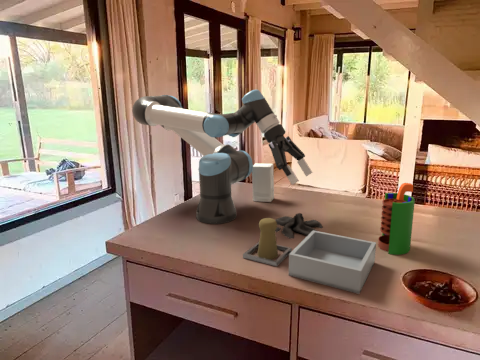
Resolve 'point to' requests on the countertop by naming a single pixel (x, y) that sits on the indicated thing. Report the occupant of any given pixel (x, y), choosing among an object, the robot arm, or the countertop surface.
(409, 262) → the countertop surface
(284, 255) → the collar
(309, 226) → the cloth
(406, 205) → the motor
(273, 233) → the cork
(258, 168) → the skincare box
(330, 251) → the bin
